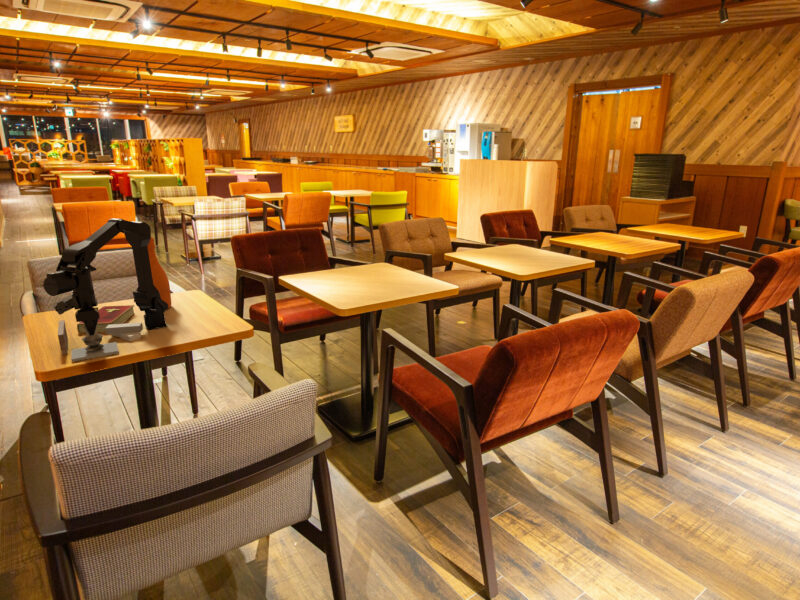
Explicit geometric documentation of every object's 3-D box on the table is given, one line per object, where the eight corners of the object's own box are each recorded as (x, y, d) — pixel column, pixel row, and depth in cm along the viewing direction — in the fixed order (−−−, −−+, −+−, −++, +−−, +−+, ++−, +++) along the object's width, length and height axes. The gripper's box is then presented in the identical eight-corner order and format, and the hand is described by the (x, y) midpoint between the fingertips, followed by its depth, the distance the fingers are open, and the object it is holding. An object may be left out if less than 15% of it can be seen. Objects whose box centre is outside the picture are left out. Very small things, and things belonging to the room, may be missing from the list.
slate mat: (116, 344, 170) (116, 341, 170) (118, 353, 163) (118, 350, 162) (72, 352, 163) (71, 349, 163) (71, 362, 156) (71, 359, 156)
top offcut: (109, 331, 177) (108, 324, 177) (143, 328, 180) (142, 322, 179) (106, 334, 174) (105, 328, 173) (140, 332, 176) (139, 325, 176)
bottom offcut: (122, 332, 182) (121, 326, 182) (141, 339, 176) (140, 333, 176) (111, 336, 179) (110, 329, 178) (130, 342, 173) (129, 336, 172)
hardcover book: (78, 334, 180) (76, 323, 179) (104, 315, 200) (102, 305, 199) (113, 332, 182) (111, 322, 180) (135, 314, 202) (134, 304, 200)
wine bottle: (151, 304, 212) (141, 235, 203) (175, 304, 213) (166, 235, 204) (142, 312, 203) (131, 239, 194) (167, 311, 204) (157, 239, 195)
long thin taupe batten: (68, 338, 175) (64, 320, 173) (67, 354, 162) (63, 334, 160) (62, 339, 174) (58, 320, 172) (62, 355, 161) (57, 335, 159)
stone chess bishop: (95, 351, 159) (88, 316, 156) (79, 350, 160) (72, 315, 157) (108, 344, 165) (102, 310, 161) (93, 343, 166) (87, 309, 162)
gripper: (53, 284, 160) (62, 329, 164) (50, 298, 145) (61, 348, 149) (93, 279, 165) (101, 323, 170) (95, 293, 150) (104, 340, 155)
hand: (91, 333), depth 161 cm, fingers closed on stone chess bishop, 3 cm apart
